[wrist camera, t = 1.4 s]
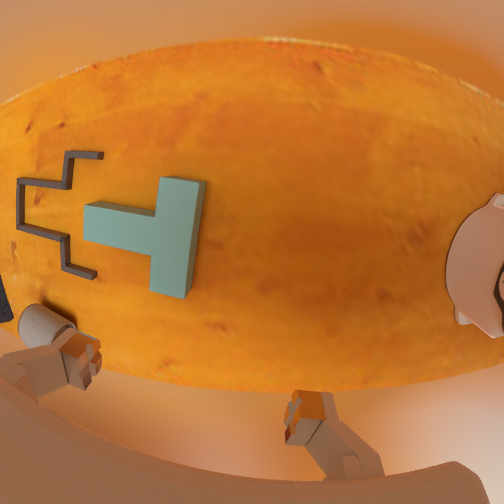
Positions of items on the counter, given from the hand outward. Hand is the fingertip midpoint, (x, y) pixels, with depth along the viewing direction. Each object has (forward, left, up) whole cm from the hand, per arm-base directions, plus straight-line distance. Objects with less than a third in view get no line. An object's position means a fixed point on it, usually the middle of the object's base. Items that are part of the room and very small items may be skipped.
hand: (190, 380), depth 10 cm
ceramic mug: (+26, +20, -21) cm, 39 cm away
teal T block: (+11, 0, -20) cm, 23 cm away
